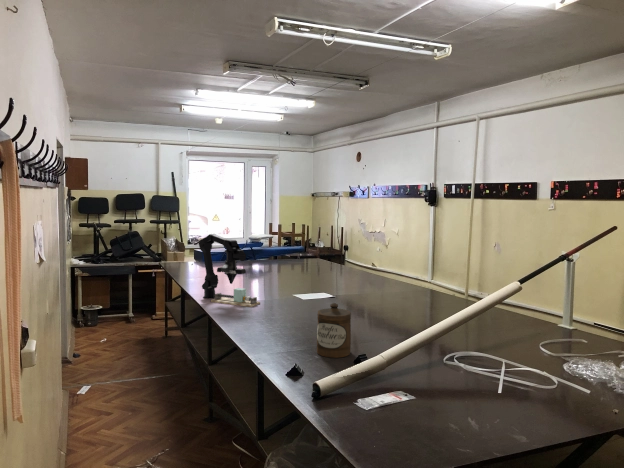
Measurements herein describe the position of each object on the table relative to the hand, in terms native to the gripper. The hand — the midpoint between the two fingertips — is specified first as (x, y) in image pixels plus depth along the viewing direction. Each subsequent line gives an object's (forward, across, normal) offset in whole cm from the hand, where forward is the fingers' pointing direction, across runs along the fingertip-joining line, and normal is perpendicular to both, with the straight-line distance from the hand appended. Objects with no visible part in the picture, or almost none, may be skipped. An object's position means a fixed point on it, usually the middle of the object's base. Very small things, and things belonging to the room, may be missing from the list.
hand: (231, 283), depth 307 cm
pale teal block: (+10, +7, 0) cm, 12 cm away
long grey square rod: (+9, +4, 0) cm, 10 cm away
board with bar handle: (+12, +4, 0) cm, 12 cm away
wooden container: (+12, +97, -63) cm, 116 cm away
